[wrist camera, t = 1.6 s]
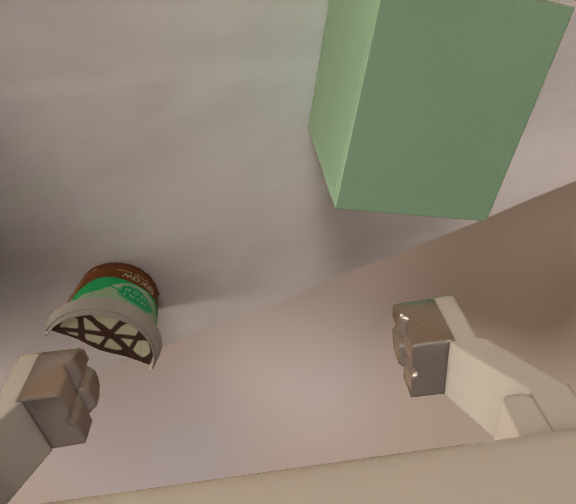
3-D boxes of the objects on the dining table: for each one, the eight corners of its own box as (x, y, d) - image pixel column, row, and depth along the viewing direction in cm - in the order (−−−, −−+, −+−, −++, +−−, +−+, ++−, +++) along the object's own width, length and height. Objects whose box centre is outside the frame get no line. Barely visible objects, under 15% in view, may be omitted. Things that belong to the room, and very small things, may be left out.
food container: (187, 280, 59) (179, 337, 51) (165, 313, 62) (154, 373, 54) (88, 236, 55) (61, 292, 47) (68, 275, 57) (40, 334, 49)
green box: (335, -41, 42) (385, -23, 28) (480, -18, 44) (594, 10, 30) (307, 128, 50) (334, 208, 36) (430, 141, 52) (501, 222, 38)
